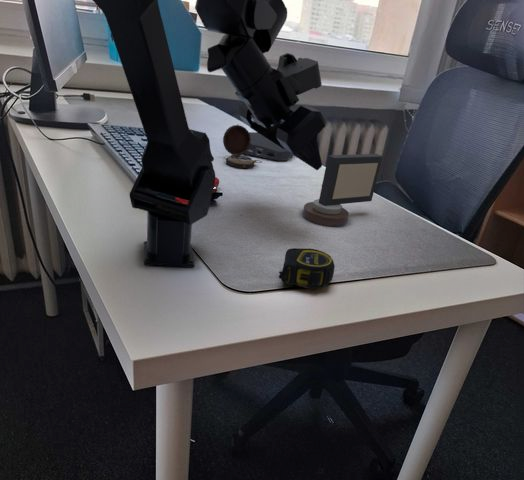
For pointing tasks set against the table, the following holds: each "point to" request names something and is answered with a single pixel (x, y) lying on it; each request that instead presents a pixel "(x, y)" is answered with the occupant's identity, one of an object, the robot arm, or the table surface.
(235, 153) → the compass
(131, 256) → the table surface
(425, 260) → the table surface
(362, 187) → the frame
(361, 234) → the table surface
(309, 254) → the tape measure
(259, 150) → the media streaming box
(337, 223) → the swivel stand
